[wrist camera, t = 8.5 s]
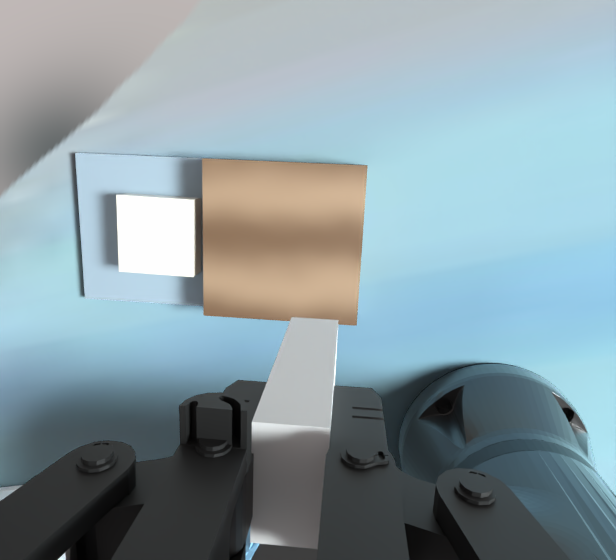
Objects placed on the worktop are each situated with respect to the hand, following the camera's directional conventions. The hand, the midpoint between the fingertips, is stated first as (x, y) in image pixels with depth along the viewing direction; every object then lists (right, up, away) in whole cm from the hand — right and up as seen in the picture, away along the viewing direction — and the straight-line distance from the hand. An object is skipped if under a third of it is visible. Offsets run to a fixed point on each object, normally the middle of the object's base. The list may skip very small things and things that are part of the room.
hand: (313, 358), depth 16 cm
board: (-2, +6, +24) cm, 25 cm away
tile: (-12, +6, +24) cm, 28 cm away
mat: (-13, +7, +25) cm, 29 cm away
